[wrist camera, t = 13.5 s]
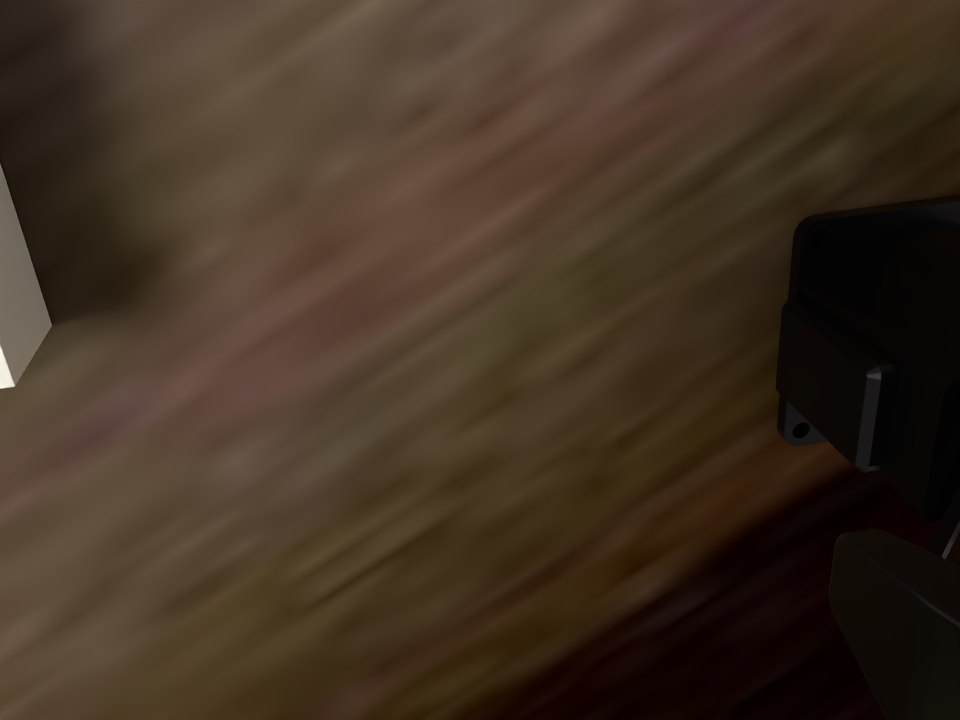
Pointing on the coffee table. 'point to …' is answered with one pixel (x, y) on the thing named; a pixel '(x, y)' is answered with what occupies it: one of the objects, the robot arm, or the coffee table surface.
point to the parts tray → (17, 296)
